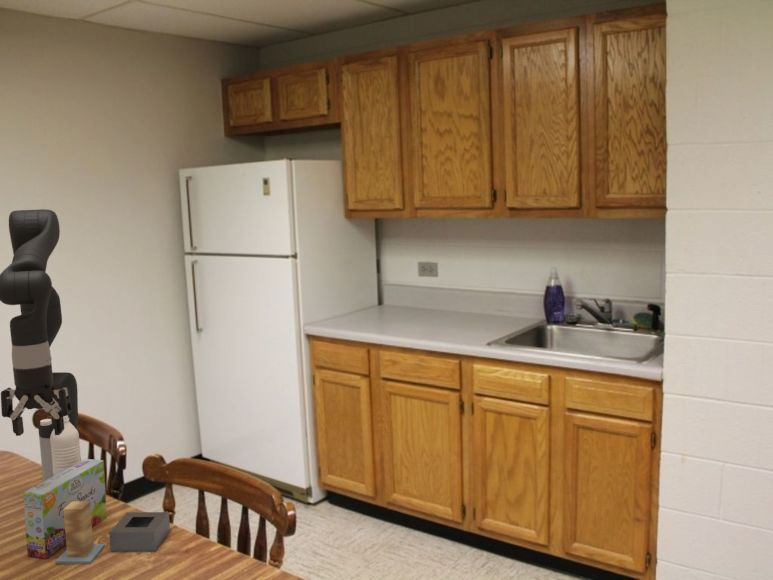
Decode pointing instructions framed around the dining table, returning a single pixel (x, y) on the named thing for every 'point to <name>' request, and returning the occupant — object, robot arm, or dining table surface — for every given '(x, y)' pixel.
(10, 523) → the dining table surface
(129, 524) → the socket block
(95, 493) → the snack box
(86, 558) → the rubber mat
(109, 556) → the dining table surface
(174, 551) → the dining table surface
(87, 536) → the square peg
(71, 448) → the water bottle
